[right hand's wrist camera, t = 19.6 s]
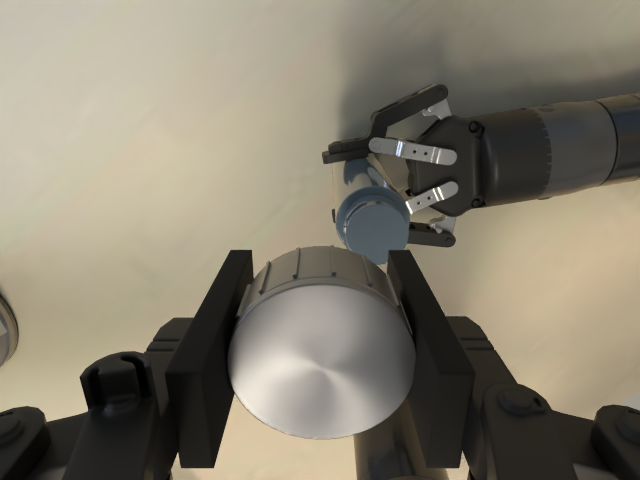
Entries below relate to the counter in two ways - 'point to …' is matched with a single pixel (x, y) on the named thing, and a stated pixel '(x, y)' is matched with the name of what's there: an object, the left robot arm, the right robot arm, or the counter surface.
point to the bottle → (369, 209)
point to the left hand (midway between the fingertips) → (328, 187)
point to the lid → (321, 345)
